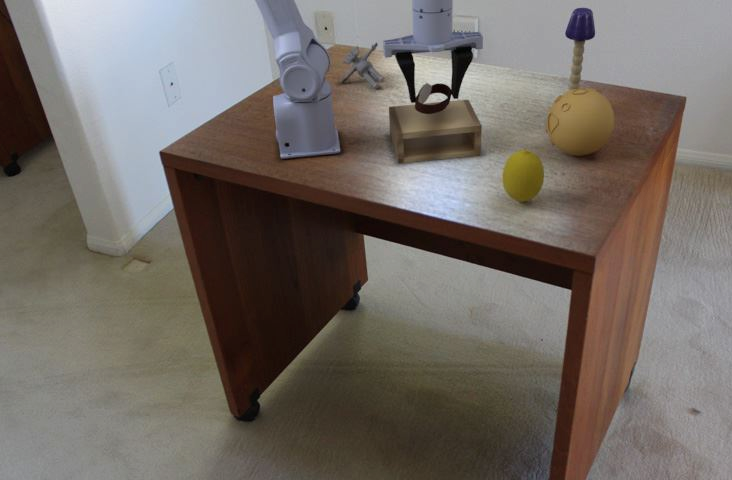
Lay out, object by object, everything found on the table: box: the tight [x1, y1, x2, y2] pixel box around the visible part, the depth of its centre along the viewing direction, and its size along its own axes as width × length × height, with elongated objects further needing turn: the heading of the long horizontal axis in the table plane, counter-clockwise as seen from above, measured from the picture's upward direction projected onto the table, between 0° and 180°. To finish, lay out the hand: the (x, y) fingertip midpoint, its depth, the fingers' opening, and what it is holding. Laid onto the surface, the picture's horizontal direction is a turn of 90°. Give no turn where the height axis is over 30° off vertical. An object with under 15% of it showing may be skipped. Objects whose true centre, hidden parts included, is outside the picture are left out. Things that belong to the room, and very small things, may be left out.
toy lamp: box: [564, 7, 596, 91], centre depth 122 cm, size 5×5×17 cm
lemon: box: [502, 149, 545, 204], centre depth 102 cm, size 6×6×8 cm
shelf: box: [388, 99, 483, 164], centre depth 118 cm, size 13×10×5 cm
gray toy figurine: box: [340, 42, 386, 90], centre depth 140 cm, size 10×6×9 cm
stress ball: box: [544, 86, 615, 157], centre depth 112 cm, size 10×10×10 cm
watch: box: [414, 82, 452, 114], centre depth 114 cm, size 8×5×4 cm, turn 145°
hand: (433, 98), depth 115 cm, fingers closed on watch, 6 cm apart
